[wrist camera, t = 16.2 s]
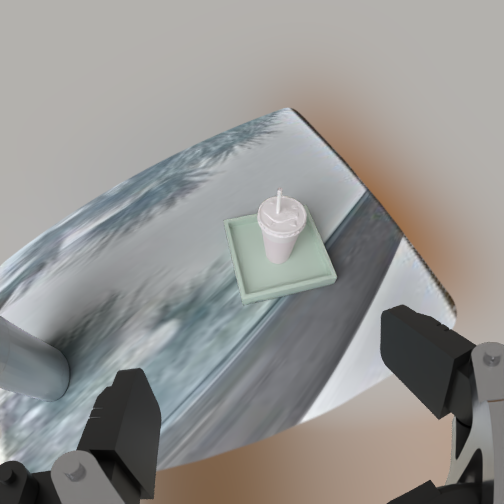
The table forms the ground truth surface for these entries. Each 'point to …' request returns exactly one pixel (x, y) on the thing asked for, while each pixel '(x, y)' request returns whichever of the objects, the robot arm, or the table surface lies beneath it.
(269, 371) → the table surface
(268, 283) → the tray
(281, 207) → the smoothie
